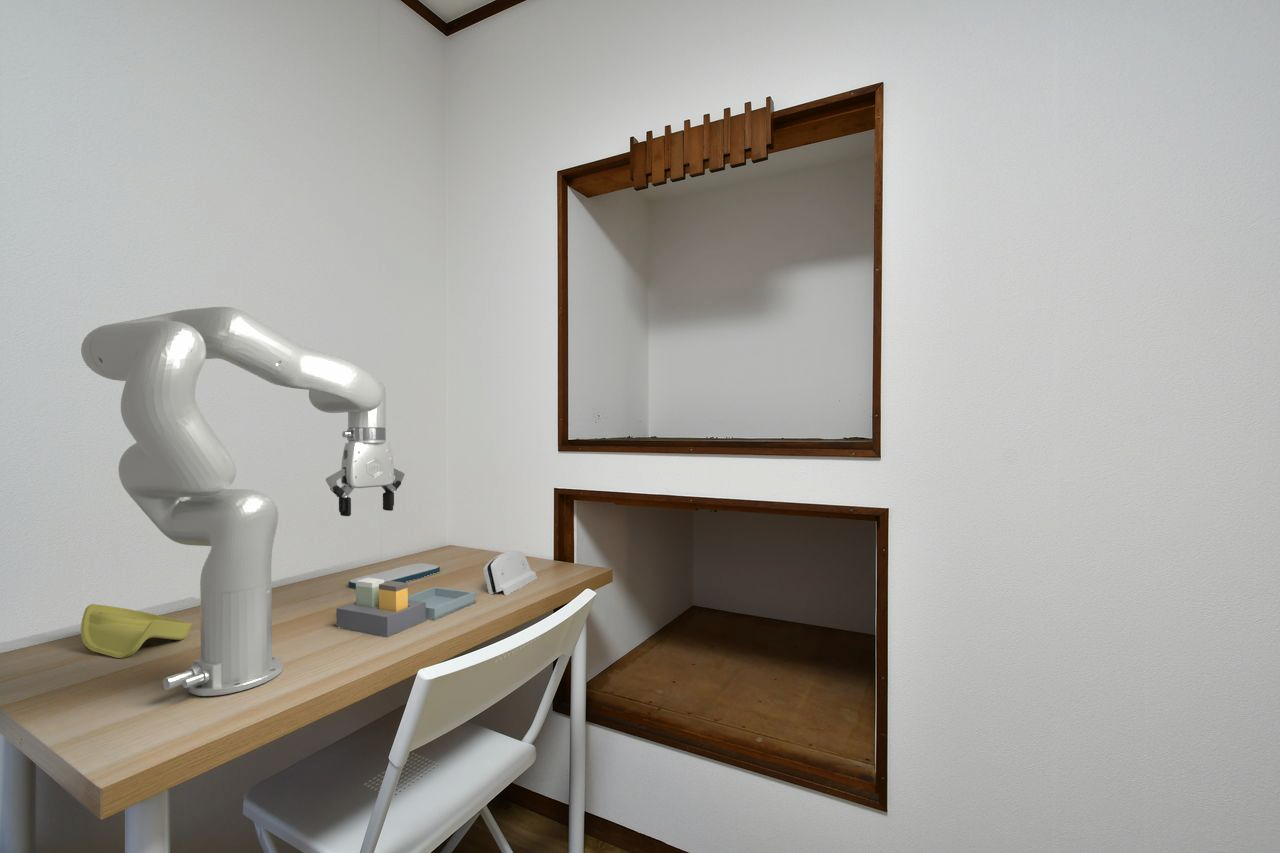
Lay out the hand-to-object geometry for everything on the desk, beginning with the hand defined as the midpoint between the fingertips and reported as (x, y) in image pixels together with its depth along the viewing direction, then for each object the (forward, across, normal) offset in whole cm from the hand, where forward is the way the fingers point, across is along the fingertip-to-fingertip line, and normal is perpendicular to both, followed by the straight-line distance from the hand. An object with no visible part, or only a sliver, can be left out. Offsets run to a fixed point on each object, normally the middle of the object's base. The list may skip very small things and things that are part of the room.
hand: (367, 512), depth 120 cm
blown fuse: (+23, 0, -10) cm, 25 cm away
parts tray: (+23, +12, -7) cm, 27 cm away
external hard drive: (+24, +22, +25) cm, 41 cm away
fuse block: (+23, -1, -7) cm, 24 cm away
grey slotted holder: (+23, +34, -8) cm, 42 cm away
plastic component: (+24, -33, +27) cm, 49 cm away
